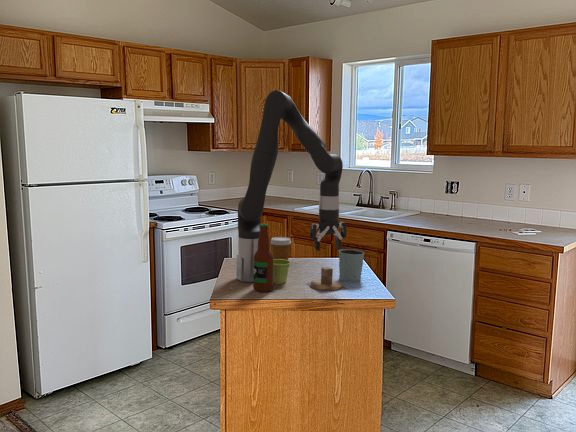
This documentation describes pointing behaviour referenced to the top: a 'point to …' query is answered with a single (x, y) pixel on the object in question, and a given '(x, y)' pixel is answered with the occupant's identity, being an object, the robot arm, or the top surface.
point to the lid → (326, 281)
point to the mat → (325, 291)
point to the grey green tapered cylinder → (350, 265)
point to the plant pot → (280, 270)
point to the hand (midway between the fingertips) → (328, 249)
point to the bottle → (263, 263)
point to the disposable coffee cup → (280, 247)
